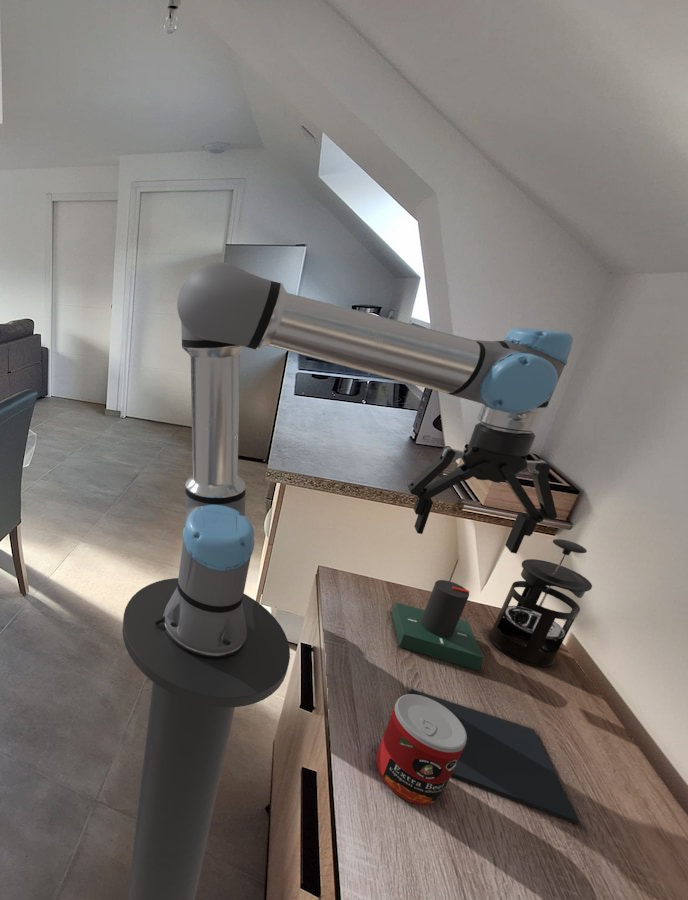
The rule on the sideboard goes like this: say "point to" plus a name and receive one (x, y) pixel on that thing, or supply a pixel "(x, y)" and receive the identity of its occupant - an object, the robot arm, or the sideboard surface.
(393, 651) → the sideboard surface
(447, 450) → the robot arm
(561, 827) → the sideboard surface
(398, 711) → the canned food
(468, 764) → the mat
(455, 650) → the panel
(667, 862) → the sideboard surface
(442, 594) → the knob
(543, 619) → the french press
